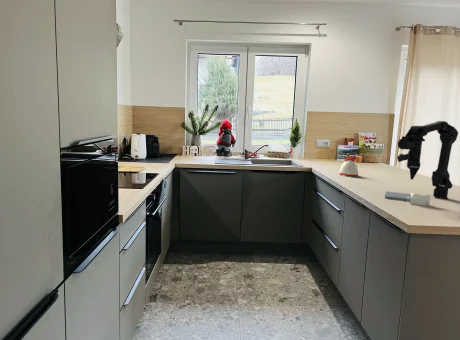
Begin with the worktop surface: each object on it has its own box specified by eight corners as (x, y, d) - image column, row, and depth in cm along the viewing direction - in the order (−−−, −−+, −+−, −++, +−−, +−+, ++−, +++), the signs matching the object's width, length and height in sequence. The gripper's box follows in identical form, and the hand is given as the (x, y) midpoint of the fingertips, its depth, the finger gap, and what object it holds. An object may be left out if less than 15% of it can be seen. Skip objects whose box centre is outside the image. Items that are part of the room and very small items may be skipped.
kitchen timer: (359, 177, 274) (361, 157, 272) (340, 176, 276) (342, 156, 274) (356, 174, 288) (357, 155, 285) (338, 173, 290) (339, 154, 288)
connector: (429, 204, 191) (430, 195, 190) (429, 205, 187) (430, 196, 186) (406, 201, 195) (407, 192, 194) (406, 203, 191) (407, 193, 191)
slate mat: (415, 196, 209) (415, 194, 209) (417, 202, 195) (417, 199, 194) (385, 193, 215) (385, 191, 215) (384, 198, 201) (385, 196, 201)
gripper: (399, 147, 207) (396, 174, 209) (398, 149, 190) (394, 178, 192) (421, 149, 202) (417, 176, 204) (422, 151, 185) (418, 181, 187)
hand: (411, 178), depth 197 cm, fingers open, 9 cm apart
